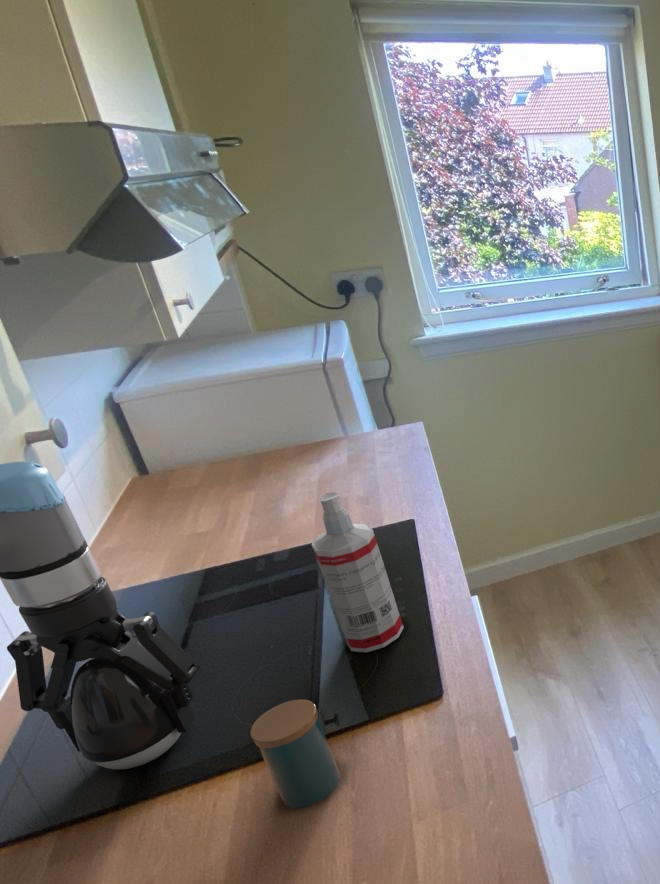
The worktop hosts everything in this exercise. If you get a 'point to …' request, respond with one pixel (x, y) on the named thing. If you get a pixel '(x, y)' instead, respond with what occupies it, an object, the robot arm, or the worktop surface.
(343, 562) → the white plastic bottle
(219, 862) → the worktop surface
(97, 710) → the black egg-shaped gadget
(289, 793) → the canister
